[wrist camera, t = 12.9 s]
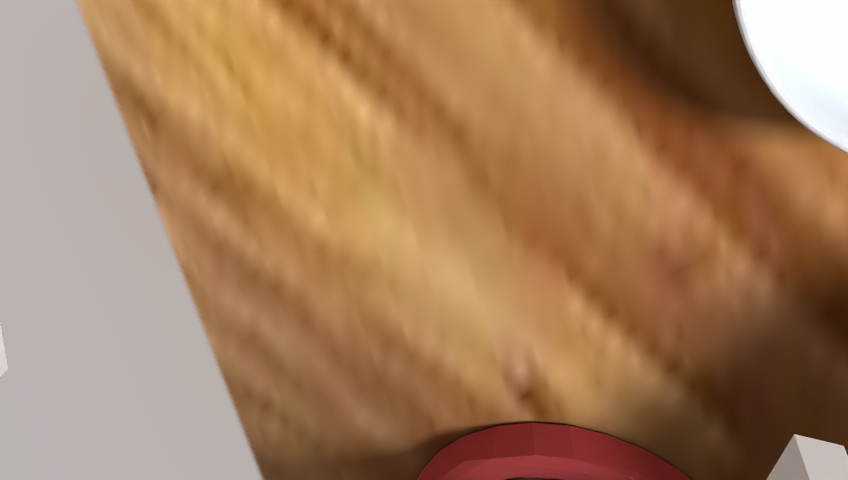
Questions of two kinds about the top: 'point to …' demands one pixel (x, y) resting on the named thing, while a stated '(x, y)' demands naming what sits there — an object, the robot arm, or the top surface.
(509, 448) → the stand mixer
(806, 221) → the top surface
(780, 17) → the serving bowl
